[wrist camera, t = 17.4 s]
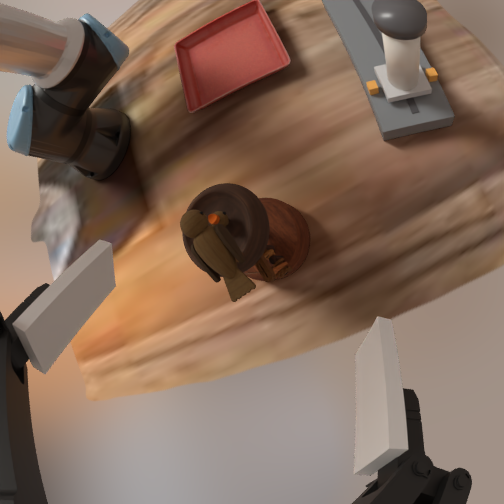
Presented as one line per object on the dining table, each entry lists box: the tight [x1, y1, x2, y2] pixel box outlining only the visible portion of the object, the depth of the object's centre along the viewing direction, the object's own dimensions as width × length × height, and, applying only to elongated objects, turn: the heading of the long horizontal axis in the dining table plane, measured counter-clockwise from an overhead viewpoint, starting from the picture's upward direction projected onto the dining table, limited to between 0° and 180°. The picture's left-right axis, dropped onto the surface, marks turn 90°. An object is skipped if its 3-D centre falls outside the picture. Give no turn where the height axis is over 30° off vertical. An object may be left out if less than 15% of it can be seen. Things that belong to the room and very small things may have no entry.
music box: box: [180, 183, 310, 302], centre depth 34 cm, size 15×11×20 cm
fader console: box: [322, 0, 455, 141], centre depth 33 cm, size 26×10×4 cm, turn 12°
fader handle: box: [371, 0, 432, 103], centre depth 25 cm, size 5×6×14 cm
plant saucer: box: [174, 0, 291, 113], centre depth 45 cm, size 18×18×3 cm
